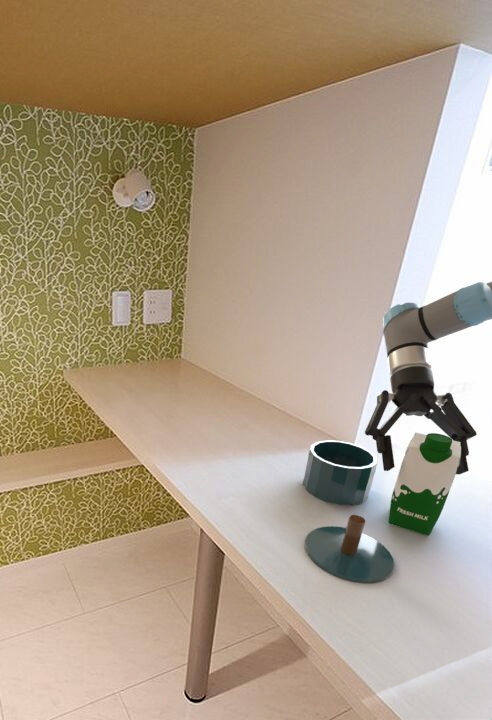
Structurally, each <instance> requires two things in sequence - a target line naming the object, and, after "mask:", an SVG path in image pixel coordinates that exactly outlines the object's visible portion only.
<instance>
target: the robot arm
mask: <svg viewBox="0 0 492 720" xmlns="http://www.w3.org/2000/svg"><path fill="white" fill-rule="evenodd" d="M489 320H492V281H489V282H487V283H486V282H484V281H478V282H476V283H473V284H470V285H467V286H465V287H462V288H459V289H458V290H456V291H454V292H452V293H450V294H447V295H445V296H442V297H441V298H438V299H437V300H435V301H433V302H430V303H427V304H426V305H423V306H420V305H419V304H418V303H415V302H404V303H402V304H395V305H394V306H392V307H390V308H389V309H387V310H386V312H385V313H384V315H383V317H382V326H383V327H382V328H383V329H382V334H383V338H384V344H385V349H386V356H387V357H386V358H387V365H388V372H389V373H388V374H389V376H390V378H389V381H390V388H391V392H392V393H390V392H389V391H388V390H387V389H384V390H383V391H381V392H380V393H379V394H378V395H377V396H376V406H375V408H374V410H373V413H372V415H371V417H370V418H369V419H370V420H369V421H368V424H367V426H366V428H365V431H364V435H366V436H371V437H372V440H373V441H375V443H376V452H377V454H381V459H382V469H383V472H389V471H390V470H392V469H394V468H396V467H395V459H394V458H395V457H394V451H393V444H392V435H390V434H387V433H388V432H389V431H390V430H391V428H392V427H393V426H394V425H395V424H396V422H397V421H398V420H399V419H400V418H401V417H402V415H403V414H404V415H405V416H407V417H410V416H411V417H412V416H416V417H423V416H424V417H425V418H426V419H428V420H431V421H432V422H433V423H434V424H435V425H436V426H437V427H438V428H439V429H440V430H441V431H443V433H444V434H446V436H448V437H450V438H451V439H452V440H453V441H458V442H460V446H461V457H460V464H459V467H458V466H457V471H456V475H463V474H464V473H467V472H469V471H470V470H469V464H468V460H467V456H469V454H470V450H469V445H468V440H470V439H472V438H474V437H476V436H477V431H476V430H475V428H474V427H473V425H471V423H470V422H469V420H468V419H467V418H466V416H465V415H464V414H463V412H462V411H461V409H460V408H459V407H458V405H456V403H455V400H454V397H453V395H452V393H451V392H446V393H445V394H441V395H440V394H439V395H437V394H436V392H435V381H434V376H433V375H434V374H433V371H432V362H431V357H430V353H429V346H428V343H432V342H434V341H437V340H439V339H441V338H444V337H447V336H450V335H453V334H455V333H458V332H461V331H463V330H466V329H468V328H472V327H475V326H478V325H480V324H483V323H484V322H486V321H489ZM390 402H392V403H393V404H394V405H395V406H396V408H395V409H394V410H393V412H392V413H391V415H390V416H389V417H388V418H387V419H386V421H384V423H383V424H382V425H381V426H380V427H379V424H380V422H381V421H382V418H383V416H384V413H385V411H386V409H387V406H388V405H389V403H390ZM431 410H432V411H431ZM378 427H379V428H378ZM458 463H459V462H458Z"/></svg>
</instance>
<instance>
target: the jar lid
mask: <svg viewBox="0 0 492 720" xmlns="http://www.w3.org/2000/svg"><path fill="white" fill-rule="evenodd" d="M365 524H366V519H365V518H364V517H363V516H361V515H357V514H351V515H349V517H348V519H347V523H346V527H343V526H333V525H332V526H331V525H330V526H320V527H317V528H315V529H313V530H311V531H310V532H309V533H308V534H307V535H306V537H305V540H304V549H305V552H306V553H307V556H308V557H309V558H310V559H311V560H312V562H313V563H314V564H315V565H317V566H318V567H319V568H321V569H322V570H324V571H325V572H326V573H328V574H331V575H333V576H334V577H337V578H340V579H342V580H346V581H350V582H353V583H361V584H373V583H379V582H382V581H385V580H386V579H388V578H389V577H390V576H391V575H392V574H393V572H394V569H395V560H394V556H393V555H392V554H391V552H390V551H389V549H387V548H386V547H385V546H384V544H382V543H381V542H379V541H378V540H377V539H375V538H374V537H371V536H370V535H368V534H366V533H364V532H363V531H364V528H365Z"/></svg>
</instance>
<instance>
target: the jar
mask: <svg viewBox="0 0 492 720" xmlns="http://www.w3.org/2000/svg"><path fill="white" fill-rule="evenodd" d="M377 466H378V457H377V456H376V455H375V454H374V452H372V451H371V450H369V449H367V448H366V447H364V446H361V445H358V444H355V443H352V442H347V441H341V440H331V439H329V440H327V439H326V440H320V441H316V442H314V443H312V444H311V445H310V447H309V452H308V457H307V462H306V467H305V472H304V477H303V481H302V486H303V487H304V489H305V491H306V492H307V493H308V494H310V495H311V496H313V497H314V498H316V499H319V500H320V501H323V502H326V503H329V504H333V505H338V506H355V505H360V504H363V503H365V502H366V501H367V500H368V498H369V494H370V491H371V487H372V484H373V481H374V476H375V472H376V469H377Z"/></svg>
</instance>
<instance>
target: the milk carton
mask: <svg viewBox="0 0 492 720" xmlns="http://www.w3.org/2000/svg"><path fill="white" fill-rule="evenodd" d="M460 457H461V446H460V442H458V441H453V440H452V439H451V438H450V437H449V436H448V435H445V434H441V433H437V432H431V433H427V434H425V433H419V432H414V434H413V436H412V438H411V439H410V441H409V443H408V444H407V446H406V449H405V451H404V456H403V459H402V461H401V465H400V467H399V468H400V469H399V471H398V474H397V477H396V481H395V484H394V487H393V489H392V490H393V491H392V493H391V499H390V505H389V516H388V524H389V525H392V526H394V527H397V528H401V529H404V530H407V531H411V532H414V533H416V534H420V535H424V536H426V537H429V536H430V534H431V533H432V531H433V529H434V527H435V526H436V523H437V522H438V520H439V518H440V516H441V514H442V512H443V510H444V507H445V505H446V501H447V499H448V496H449V493H450V491H451V488H452V486H453V483H454V480H455V477H456V475H457V474H456V471H457V466H458V467H459V464H460ZM458 462H459V463H458Z"/></svg>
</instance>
